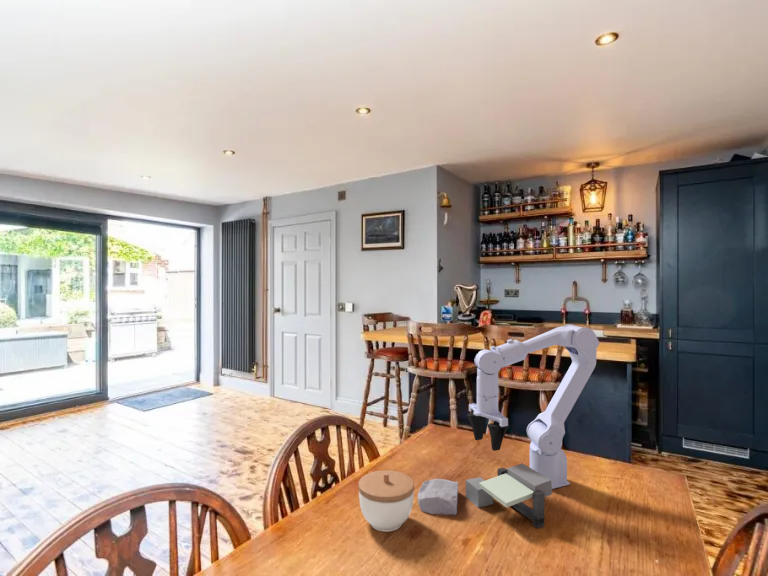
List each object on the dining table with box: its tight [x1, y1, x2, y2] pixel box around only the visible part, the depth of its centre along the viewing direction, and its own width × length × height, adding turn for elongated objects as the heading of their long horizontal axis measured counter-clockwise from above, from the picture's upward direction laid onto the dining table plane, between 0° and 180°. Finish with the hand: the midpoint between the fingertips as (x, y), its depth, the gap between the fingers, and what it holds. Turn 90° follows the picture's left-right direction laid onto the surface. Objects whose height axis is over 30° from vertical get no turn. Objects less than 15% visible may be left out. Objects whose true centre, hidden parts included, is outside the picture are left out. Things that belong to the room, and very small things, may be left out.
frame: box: [497, 467, 546, 529], centre depth 98 cm, size 2×14×8 cm, turn 23°
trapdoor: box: [479, 463, 553, 509], centre depth 97 cm, size 13×10×3 cm
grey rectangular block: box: [465, 476, 494, 508], centre depth 103 cm, size 4×4×6 cm
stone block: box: [417, 478, 459, 516], centre depth 103 cm, size 12×5×10 cm
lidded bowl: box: [357, 469, 415, 533], centre depth 93 cm, size 13×13×11 cm
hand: (487, 444), depth 112 cm, fingers open, 7 cm apart
